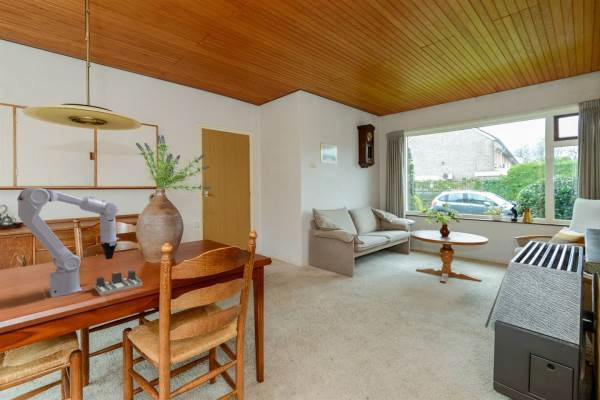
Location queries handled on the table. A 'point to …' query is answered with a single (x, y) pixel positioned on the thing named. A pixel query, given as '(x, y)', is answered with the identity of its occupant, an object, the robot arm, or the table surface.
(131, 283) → the panel
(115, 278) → the block
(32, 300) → the table surface
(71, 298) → the table surface
